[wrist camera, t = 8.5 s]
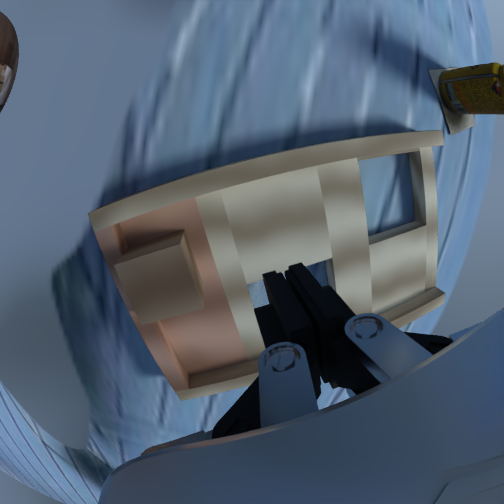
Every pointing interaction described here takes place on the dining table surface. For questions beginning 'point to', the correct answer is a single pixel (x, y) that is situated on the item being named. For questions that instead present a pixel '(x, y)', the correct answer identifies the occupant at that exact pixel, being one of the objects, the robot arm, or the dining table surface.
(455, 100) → the condiment
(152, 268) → the walnut block
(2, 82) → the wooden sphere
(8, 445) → the dining table surface
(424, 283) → the trap track
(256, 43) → the dining table surface
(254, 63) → the dining table surface
